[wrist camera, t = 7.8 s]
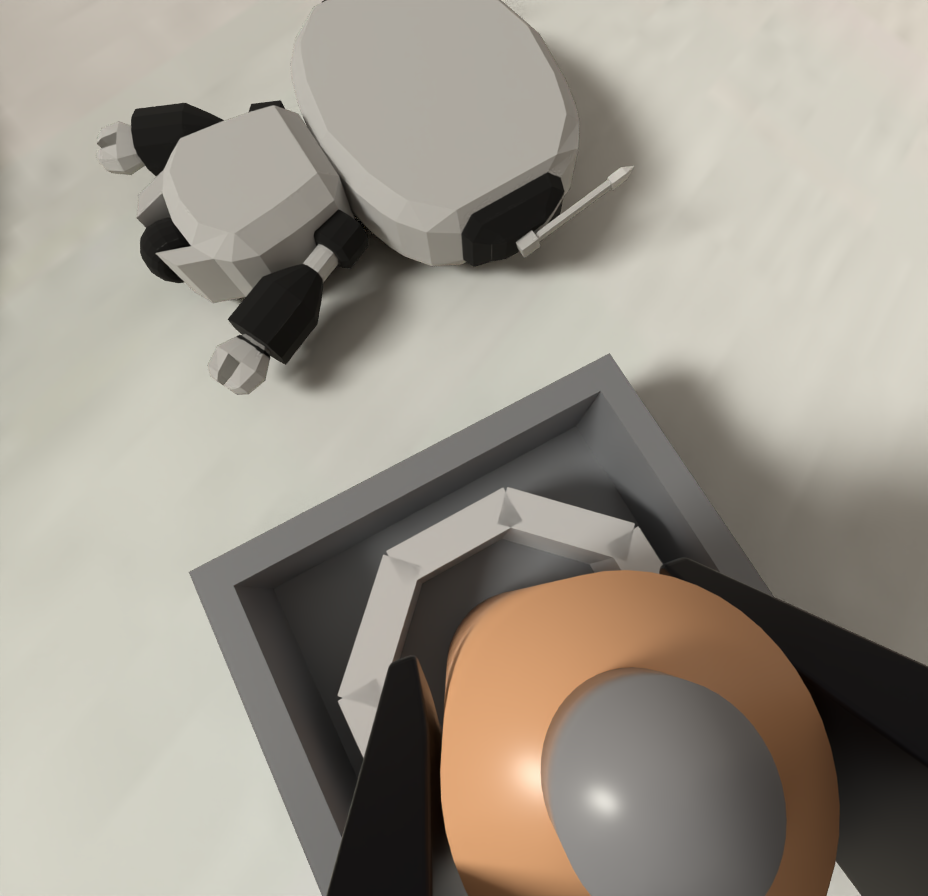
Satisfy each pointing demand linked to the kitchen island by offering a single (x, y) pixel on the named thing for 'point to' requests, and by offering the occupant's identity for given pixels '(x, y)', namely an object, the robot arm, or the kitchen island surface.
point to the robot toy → (357, 165)
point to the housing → (441, 571)
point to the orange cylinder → (631, 747)
